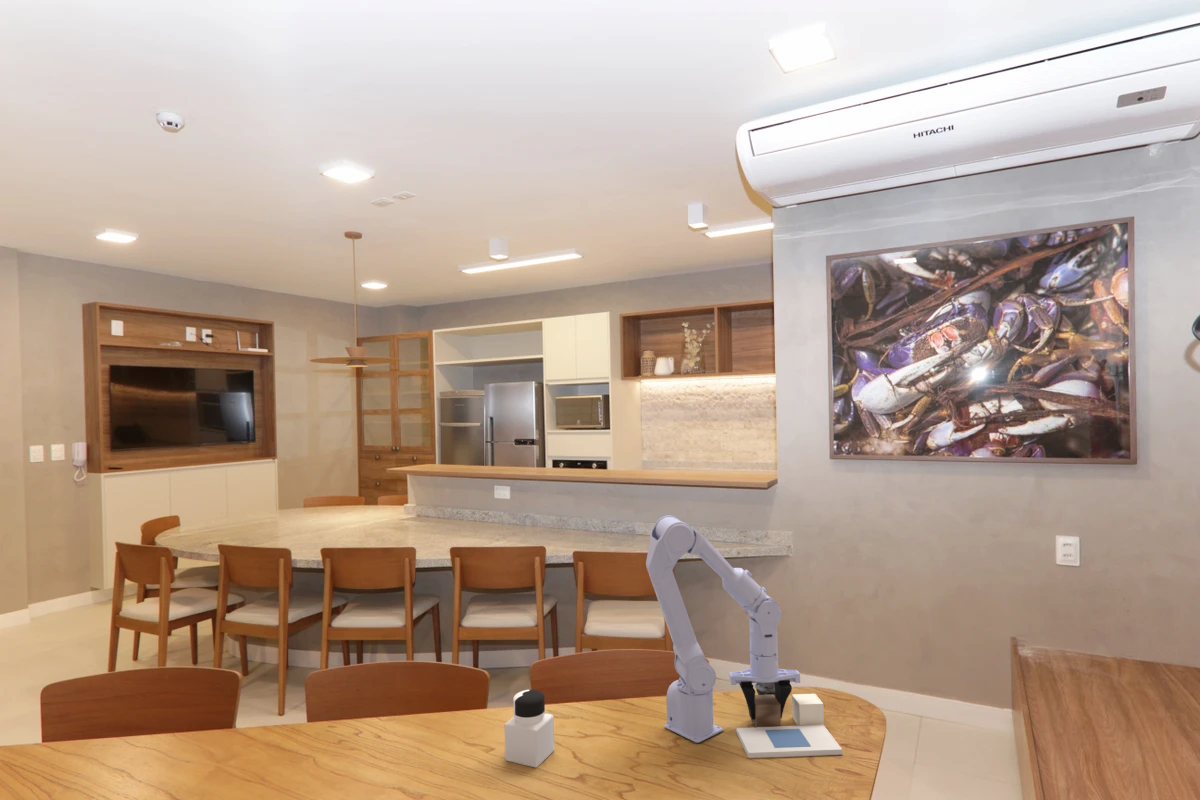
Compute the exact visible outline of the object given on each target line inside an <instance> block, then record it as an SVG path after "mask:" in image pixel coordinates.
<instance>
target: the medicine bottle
mask: <svg viewBox="0 0 1200 800" xmlns="http://www.w3.org/2000/svg"><path fill="white" fill-rule="evenodd" d="M512 699H513V705H512V706H513V708H512V709H513V710H512V711H513V716H512V717H511V719H509V720H508V721H506V723H504V760H505V761H506V762H510V763H514V764H519V765H523V766H526V767H527V766H528V767H532V768H535V769H536V768H538V767H539V766H540V765H541V764H542V763H543V762H544V761H545V760H546V759H547V758H548V757H550V755H551V754H552V753H553V752H554V751H555V719H554V718H555V716H554V714H551V713H547V712H546V709H545V708H546V707H545V705H546V704H545V703H546V702H545V699H546V698H545V695H544V694H543V692H542V691H540V690H536V689H525V690H521V691H519V692H517V693H516V694H515V695H514V696H513V698H512Z"/></svg>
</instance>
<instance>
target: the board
mask: <svg viewBox="0 0 1200 800" xmlns="http://www.w3.org/2000/svg"><path fill="white" fill-rule="evenodd" d="M735 730H736V735H737V737H738V740H739V741H740V743H741V745H742V747H743V750H744V752H745V753H746V756H747V757H748V759H763V758H785V757H787V758H789V757H811V756H812V757H815V756H816V757H817V756H839V755H841V756H842V755H843V748H842V747H841V746H840V745H839V743H838V742H837V740H836V739H835V738H834V736H833V735H832V734H831V733H830V731H829V730H828V729H827V728H826V726H825V724H824V725H806V726H798V725H785V726H784V725H781V726H778V727H755V726H753V727H752V726H751V727H736V729H735Z"/></svg>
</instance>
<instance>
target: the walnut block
mask: <svg viewBox="0 0 1200 800" xmlns="http://www.w3.org/2000/svg"><path fill="white" fill-rule="evenodd" d="M754 706H755V720H752V719H751V718H750V720H751V722H752V724H753V725H754V727H778V726H782V719H781V709H780V703H779V702H778V700H777V699H776V697H775V696H774V694H773V695H758V694H755V702H754Z"/></svg>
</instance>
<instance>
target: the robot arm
mask: <svg viewBox="0 0 1200 800" xmlns="http://www.w3.org/2000/svg"><path fill="white" fill-rule="evenodd" d="M649 534H650V535H649V536H650V537H649V538H650V539H649V546H648V551H647V556H646V560H645V567H646V571H647V573H648V575H649V579H650V582H651V585H652V587H653V590H654V593H655V595H656V599H657V602H658V604H659V607H660V610H661V612H662V613H661V614H662V616H663V619H664V621H665V624H666V627H667V630H668V633H669V636H670V637H671V641H672V643H673V644H672V645H673V646H672V650H673V653H674V669H675V671H676V673H677V674H678V675H679V678H678V679H677V680H675V681H673V682H672V683H670V685H669V686H668V689H667V692H666V701H665V702H666V723H664V725H663V727H664V728H665V729H667V730H669V731H671V732H673V733H676V734H678V735H679V736H682V737H684V738H686V739H688V740H690V741H691V742H694V743H696V744H697V743H701V742H703V741H705V740H707V739H709V738H711V737H714V736H715V735H718V734H719V733H722V732H723V730H724V729H723V727H721V726H718V725H717V724H714V698H713V697H714V692H713V691H714V690H713V688H714V685H715V684H716V680H717V673H716V670H715V669H714V667H713V666H712V665H711V664H710V663H709V662H708V660H707V659H706V657H705V654H704V652H703V650H702V648H701V646H700V644H699V642H698V641H697V640H698V639H697V637H696V635H695V632H694V628H693V625H692V623H691V620H690V617H689V615H688V612H687V608H686V605H685V603H684V600H683V597H682V594H681V591H680V589H679V586H678V583H677V581H676V578H675V575H674V571H673V570H674V568H675V566H676V565H677V562H678V560H680V559H681V558H682V557H683V556H684V555H685V554H686V553H688V554H689V555H695V556H698V557H699V558H700V559H701V560H702V561H704V563H706V565H708V566H709V567H710V568H711V569H712V570H713V571H714V572H715V573H716V574H717V575H718V576H719V577H720V578H721V583H722V588H723V590H725V592H726V593H727V594H728V595H730V597H731V598H732V599H733V600H734V601H735V602H736V603H738V605H740V607H741V608H742V609H743V610H744V611H745V614H747V615H748V616H749V618H748V619H749V620H748V621H749V623H748V625H749V628H748V629H749V631H748V632H749V658H750V659H749V666H750V669H749V668H747V669H744V670H739V671H733V672H732V671H731V672H728V674H729V675H728V676H729V677H728V678H729V680H728V681H729V683H730V685H731V686H736V685H739V687H740V688H741V691H742V693H743V695H744V698H745V701H746V704H747V709H748V713H749V714H748V715H749V718H750V720H751V719H752V720H755V706H754V702H755V695H756V690H755V687H754V685H753V684H756V683H768V682H774V686H775V697H776V699H777V700H778V702H779V703H780V709H781V720H782V719H783V713H784V708H785V705H786V702H787V700H788V698H789V696H790V695H791V693H792V689H793V688H792V685H791V683H792V682H793V683H796V684H798V683H799V684H800V683H801V673H800V672H799V671H798V670H797V669H781V668H779V647H778V645H779V644H778V643H779V641H778V624H779V622H780V620H781V619H782V616H783V611H782V610H781V608H780V604H779V603H778V601H776V599H774V598H772V597H770V596H769V595H767V592H768V590H767V589H766V588H765V587H764V586H760V585H759V584H758V583H757V582H756V581H755V580H754V578H752V577H753V574H752V573H751V572H750V571H749V570H748V569H743V568H742V567H732V565H731V564H730V563H729V562H728V560H726V558H724V556H723V555H722V554H721V553H719V551H718V550H717V549H716V548H715V547H714V545H712V544H711V542H710V541H709V540H708V539H707V538H705V536H703V535H702V534H700V533H699V532H698V531H696V530H695V529H693V528H692V527H691V525H690V524H688V523H686V522H683V521H682V520H680V519H678V518H677V517H676V516H675V515H664V516H662V517H660V518H659V519H658V520H657V521H656V522H655V524H654V526H653V527H652V529H651V530H650V533H649ZM752 720H751V721H752Z"/></svg>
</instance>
